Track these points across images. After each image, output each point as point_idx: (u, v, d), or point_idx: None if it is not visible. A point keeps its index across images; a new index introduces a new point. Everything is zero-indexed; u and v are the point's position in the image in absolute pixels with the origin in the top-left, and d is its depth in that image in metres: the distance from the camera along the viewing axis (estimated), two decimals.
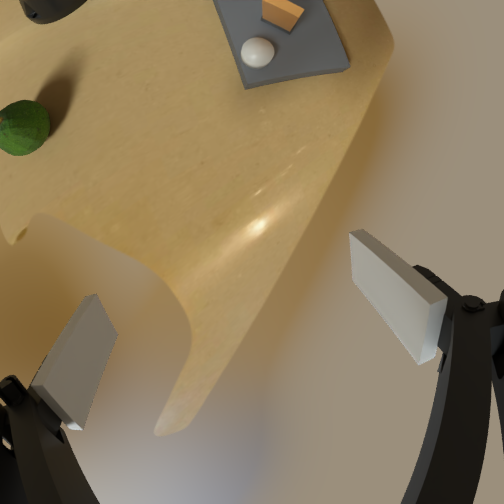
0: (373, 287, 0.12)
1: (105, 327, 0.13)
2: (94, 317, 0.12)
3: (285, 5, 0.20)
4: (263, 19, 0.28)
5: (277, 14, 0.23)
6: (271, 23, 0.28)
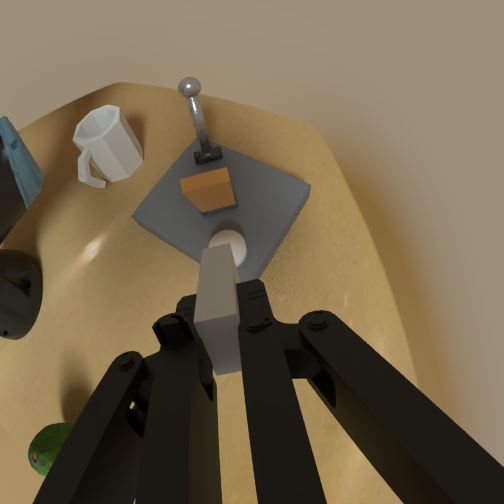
0: None
1: None
2: None
3: (207, 179, 0.23)
4: (204, 213, 0.33)
5: (209, 196, 0.26)
6: (214, 210, 0.33)
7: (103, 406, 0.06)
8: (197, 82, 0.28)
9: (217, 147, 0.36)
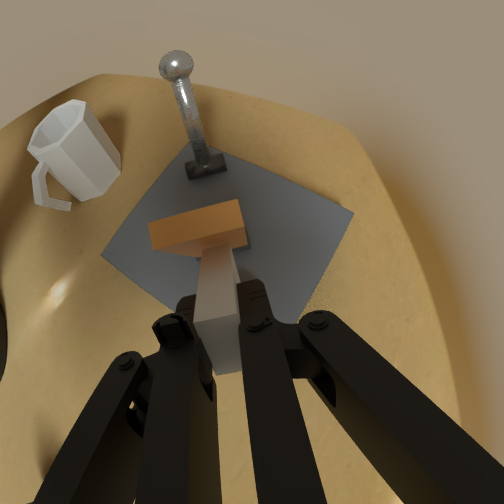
0: None
1: None
2: None
3: (199, 224, 0.12)
4: (200, 258, 0.22)
5: (206, 245, 0.15)
6: None
7: (103, 406, 0.06)
8: (188, 57, 0.17)
9: (219, 155, 0.25)
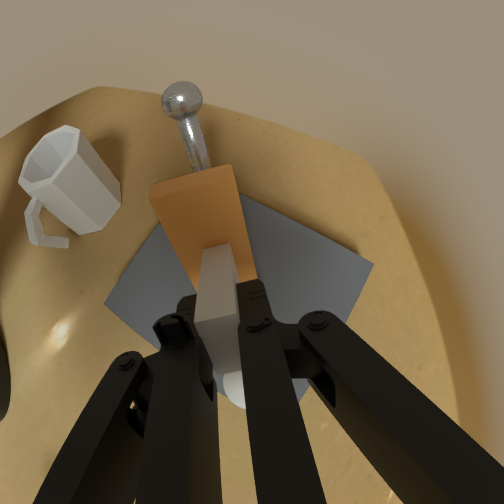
0: None
1: None
2: None
3: (195, 180, 0.13)
4: None
5: (207, 241, 0.15)
6: None
7: (103, 406, 0.06)
8: (196, 91, 0.15)
9: None
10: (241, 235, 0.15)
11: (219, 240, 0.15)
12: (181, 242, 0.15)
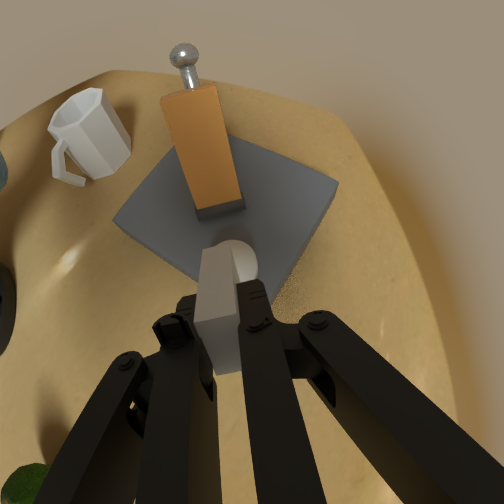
0: None
1: None
2: None
3: (190, 90, 0.18)
4: (199, 210, 0.25)
5: (197, 136, 0.20)
6: (212, 207, 0.25)
7: (103, 406, 0.06)
8: (194, 48, 0.20)
9: None
10: (221, 132, 0.20)
11: (206, 135, 0.20)
12: (178, 136, 0.20)
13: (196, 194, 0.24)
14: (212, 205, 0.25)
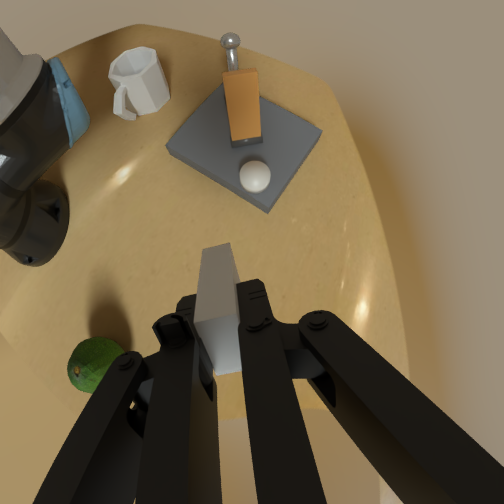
0: None
1: None
2: None
3: (241, 71, 0.29)
4: (233, 141, 0.37)
5: (241, 98, 0.31)
6: (242, 140, 0.37)
7: (103, 406, 0.06)
8: (238, 38, 0.29)
9: None
10: (256, 97, 0.32)
11: (246, 98, 0.32)
12: (230, 97, 0.31)
13: (233, 131, 0.36)
14: (242, 139, 0.37)
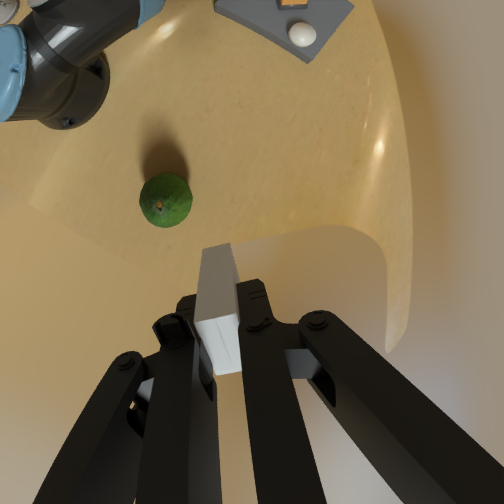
0: None
1: None
2: None
3: None
4: (283, 5, 0.31)
5: None
6: (290, 5, 0.31)
7: (103, 406, 0.06)
8: None
9: None
10: None
11: None
12: None
13: None
14: (290, 4, 0.31)
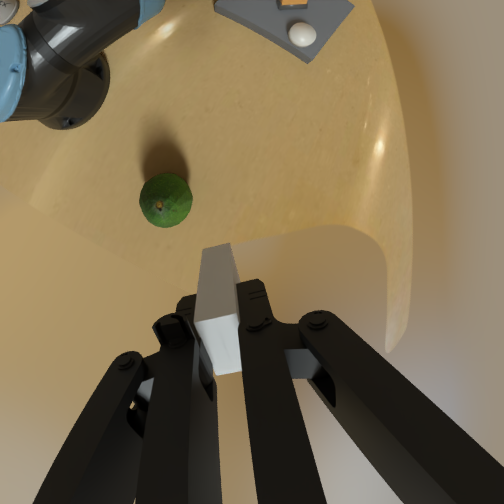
0: None
1: None
2: None
3: None
4: (282, 5, 0.31)
5: None
6: (290, 5, 0.31)
7: (103, 406, 0.06)
8: None
9: None
10: None
11: None
12: None
13: None
14: (290, 4, 0.31)
